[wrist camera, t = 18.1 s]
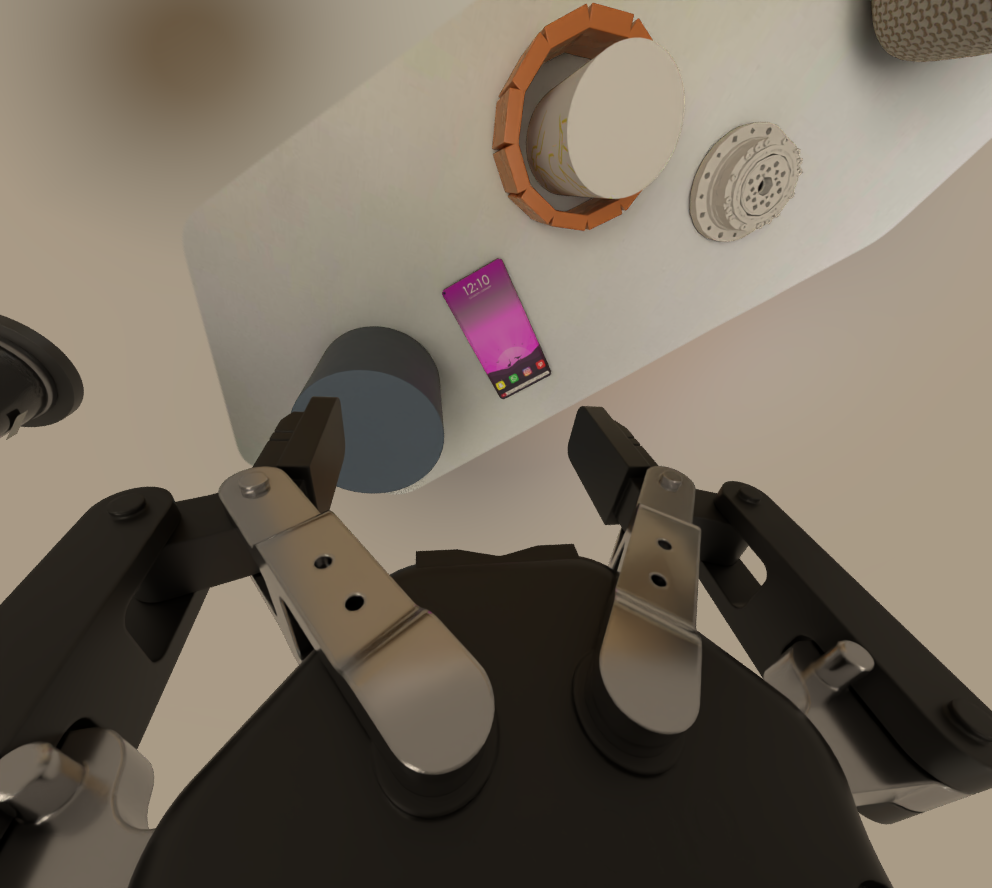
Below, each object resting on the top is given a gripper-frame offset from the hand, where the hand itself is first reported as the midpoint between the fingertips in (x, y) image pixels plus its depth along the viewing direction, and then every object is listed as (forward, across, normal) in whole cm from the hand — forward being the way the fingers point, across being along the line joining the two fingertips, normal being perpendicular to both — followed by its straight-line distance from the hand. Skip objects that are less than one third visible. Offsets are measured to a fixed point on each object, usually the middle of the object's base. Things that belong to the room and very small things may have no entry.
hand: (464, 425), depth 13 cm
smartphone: (+32, -8, +7) cm, 34 cm away
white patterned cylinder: (+32, -12, -12) cm, 36 cm away
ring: (+32, -12, -12) cm, 36 cm away
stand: (+32, +6, +14) cm, 35 cm away
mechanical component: (+32, -31, -11) cm, 46 cm away
